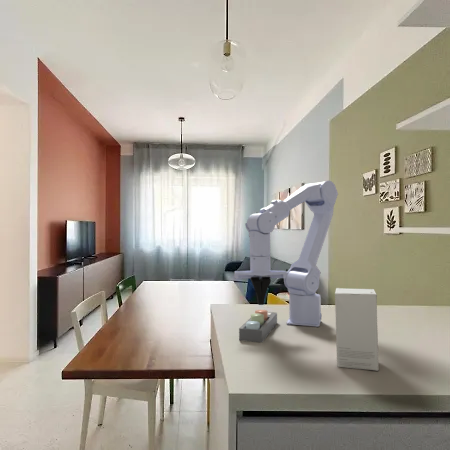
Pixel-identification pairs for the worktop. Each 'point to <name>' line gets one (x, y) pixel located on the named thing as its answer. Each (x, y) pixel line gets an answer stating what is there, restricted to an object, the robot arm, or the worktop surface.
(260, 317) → the sage button
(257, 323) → the blue button
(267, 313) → the terracotta button
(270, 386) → the worktop surface
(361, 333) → the skincare box
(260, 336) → the console
